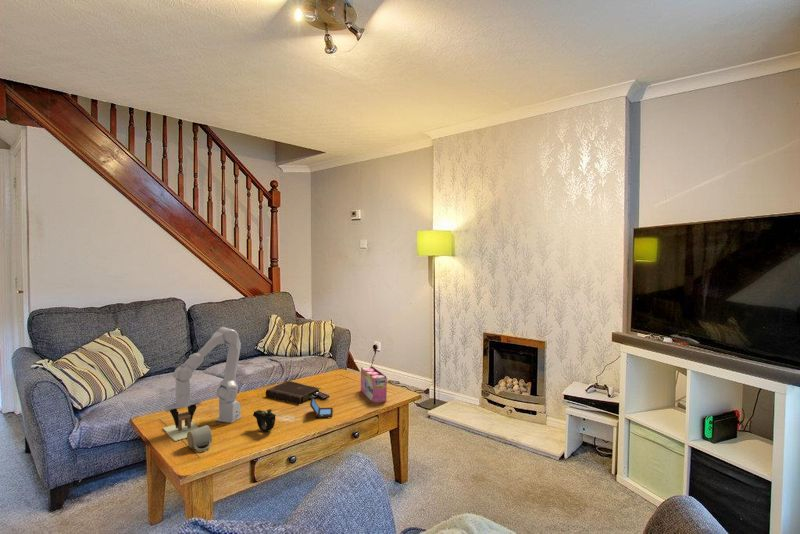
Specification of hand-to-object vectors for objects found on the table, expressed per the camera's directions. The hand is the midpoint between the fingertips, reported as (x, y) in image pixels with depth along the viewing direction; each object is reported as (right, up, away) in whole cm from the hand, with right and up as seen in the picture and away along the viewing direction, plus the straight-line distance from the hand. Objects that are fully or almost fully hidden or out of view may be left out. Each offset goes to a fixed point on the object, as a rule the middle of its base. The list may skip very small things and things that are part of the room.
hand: (183, 423), depth 195 cm
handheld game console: (+58, -3, +22) cm, 62 cm away
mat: (0, -4, 0) cm, 3 cm away
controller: (+36, -4, +2) cm, 36 cm away
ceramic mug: (+15, -4, -15) cm, 22 cm away
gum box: (+82, -2, +49) cm, 96 cm away
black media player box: (+38, -3, +48) cm, 61 cm away
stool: (0, -2, 0) cm, 2 cm away
